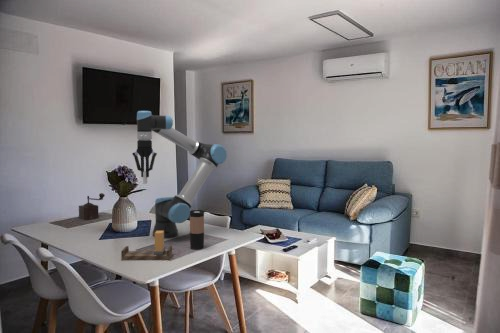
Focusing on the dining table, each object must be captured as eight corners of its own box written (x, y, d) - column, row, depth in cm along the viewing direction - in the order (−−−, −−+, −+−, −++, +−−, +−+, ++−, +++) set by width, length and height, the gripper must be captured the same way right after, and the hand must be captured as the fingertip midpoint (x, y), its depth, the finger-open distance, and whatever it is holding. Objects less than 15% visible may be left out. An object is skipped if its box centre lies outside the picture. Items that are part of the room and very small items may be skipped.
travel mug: (190, 245, 201) (190, 209, 199) (204, 245, 201) (204, 209, 200) (189, 249, 193) (189, 212, 191) (203, 249, 194) (203, 212, 192)
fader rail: (121, 260, 176) (121, 251, 175) (126, 254, 184) (126, 246, 183) (169, 259, 177) (169, 250, 177) (172, 254, 185) (172, 245, 185)
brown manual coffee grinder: (85, 220, 258) (84, 195, 257) (78, 218, 266) (77, 193, 264) (106, 217, 270) (105, 193, 268) (99, 215, 277) (98, 191, 276)
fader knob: (153, 254, 177) (153, 233, 177) (156, 250, 183) (156, 230, 183) (162, 254, 178) (162, 233, 177) (165, 250, 184) (164, 230, 183)
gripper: (130, 139, 192) (131, 184, 194) (155, 140, 193) (155, 184, 194) (134, 139, 199) (134, 182, 201) (158, 139, 200) (158, 182, 202)
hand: (145, 183), depth 198 cm, fingers closed
